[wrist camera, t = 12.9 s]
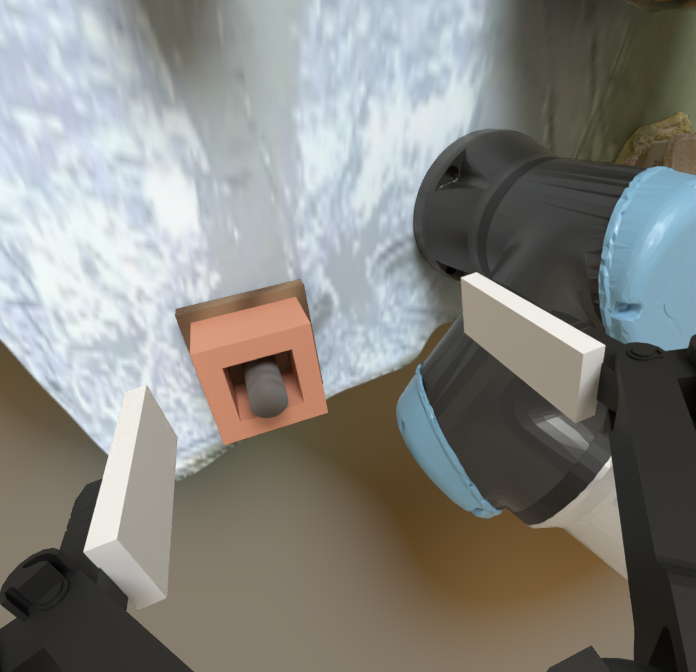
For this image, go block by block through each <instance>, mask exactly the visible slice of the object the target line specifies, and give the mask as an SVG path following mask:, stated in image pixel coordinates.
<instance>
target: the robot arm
mask: <svg viewBox="0 0 696 672" xmlns="http://www.w3.org/2000/svg"><path fill="white" fill-rule="evenodd" d="M414 230H415V236H416V240H417V243H418V246H419V249H420V251H421V253H422V254H423V256H424V258H425V259H426V260H427V261H428V263H429V264H430V265H431V266H432V267H434V268H435V269H436V270H438V271H439V272H441V273H442V274H444V275H446V276H447V277H449V278H451V279H453V280H456V281H459V282H461V291H462V306H463V311H462V312H461V314H460V315H459V316H458V318H457V319H456V320H455V322H454V323H453V324H452V326H451V327H450V329H449V330H448V331H447V332H446V334H445V335H444V336H443V338H442V339H441V340H440V342H439V343H438V344H437V346H436V347H435V348H434V350H433V351H432V353H431V354H430V355H429V356H428V358H427V359H426V360H425V362H423V363H421V364H419V365H418V367H417V369H416V374H415V375H414V377H413V378H412V380H411V381H410V383H409V384H408V386H407V387H406V389H405V390H404V392H403V393H402V395H401V396H400V398H399V400H398V403H397V407H396V419H397V424H398V427H399V430H400V432H401V434H402V437H403V439H404V442H405V444H406V446H407V447H408V449H409V451H410V452H411V454H412V456H413V457H414V459H415V460H416V461H417V463H418V464H419V466H420V467H421V468H422V469H423V471H424V472H425V473H426V474H427V476H428V477H429V478H430V479H431V480H432V481H433V482H434V483H435V485H437V487H438V488H439V489H440V490H441V491H442V492H443V493H444V494H445V495H446V496H448V497H449V498H450V499H451V500H452V501H453V502H455V503H456V504H457V505H459V506H460V507H461V508H463V509H464V510H466V511H472V513H473V514H474V515H475V516H478V517H481V518H491V517H493V516H494V515H499V514H500V513H501V512H502V511H503V509H504V507H505V508H507V509H508V510H509V511H511V512H512V513H513V514H514V515H516V516H517V517H518V518H519V519H520V520H522V521H523V522H524V523H525V524H527V525H528V526H530V527H531V528H546V527H561V528H564V529H565V530H566V531H568V532H569V533H570V534H571V535H573V536H574V537H575V538H576V539H577V540H579V541H580V542H581V543H582V544H584V545H585V546H586V547H587V548H589V549H590V550H591V551H592V552H594V553H595V554H596V555H597V556H599V557H600V558H601V559H602V560H604V561H605V562H606V563H607V564H609V565H610V566H611V567H612V568H613V569H615V570H616V571H617V572H618V573H620V574H621V575H622V576H623V577H625V578H626V579H627V580H628V583H629V591H630V598H631V605H632V613H633V620H634V661H633V660H627V659H621V658H600V657H599V655H598V654H597V652H596V651H595V650H594V648H593V647H592V646H590V647H588V648H586V649H584V650H582V651H580V652H578V653H576V654H574V655H573V656H571V657H569V658H567V659H565V660H564V661H561V662H560V663H558V664H556V665H554V666H552V667H550V668H549V669H548V671H547V672H696V175H692V174H687V173H683V172H678V171H676V170H674V169H672V168H668V167H663V166H656V167H652V168H650V167H641V166H632V165H623V164H614V163H605V162H596V161H587V160H578V159H569V158H560V157H557V156H555V155H554V154H553V153H551V152H550V151H549V150H547V149H546V148H544V147H543V146H542V145H540V144H539V143H537V142H536V141H535V140H533V139H532V138H530V137H529V136H527V135H525V134H522V133H519V132H516V131H512V130H500V129H485V130H479V131H476V132H472V133H470V134H467V135H465V136H463V137H461V138H460V139H458V140H457V141H455V142H454V143H452V144H451V145H450V146H449V147H447V148H446V149H445V150H444V151H443V152H442V153H441V154H440V155H439V156H438V158H437V159H436V160H435V161H434V163H433V164H432V166H431V167H430V169H429V170H428V172H427V174H426V176H425V177H424V180H423V182H422V184H421V186H420V189H419V192H418V195H417V199H416V204H415V210H414ZM176 451H177V436H176V434H175V432H174V431H173V429H172V427H171V426H170V424H169V422H168V420H167V419H166V417H165V415H164V414H163V412H162V410H161V408H160V407H159V405H158V403H157V402H156V400H155V398H154V397H153V395H152V393H151V391H150V390H149V388H148V386H147V385H145V386H142V387H139V388H136V389H133V390H130V391H127V392H125V396H124V400H123V404H122V407H121V411H120V415H119V419H118V423H117V426H116V430H115V434H114V438H113V442H112V445H111V449H110V453H109V457H108V461H107V464H106V468H105V472H104V476H103V479H100V480H97V481H95V482H92V483H89V484H87V485H86V486H85V487H84V489H83V490H82V492H81V493H80V495H79V496H78V497H77V499H76V500H75V503H74V506H73V509H72V513H71V518H70V519H69V522H68V525H67V531H66V532H65V534H64V538H63V541H62V544H61V547H60V550H58V549H55V548H50V549H44V550H42V551H40V552H37V553H35V554H33V555H31V556H30V557H29V558H27V559H26V560H25V561H23V562H22V563H20V564H19V565H18V567H16V569H15V570H14V571H13V572H12V573H11V574H10V575H9V576H8V578H7V580H6V581H5V582H4V584H3V586H2V588H1V591H0V604H1V605H2V606H3V607H5V608H6V609H7V610H8V611H10V612H11V613H12V614H13V615H15V616H16V617H17V618H16V619H14V620H13V621H11V622H10V623H8V624H7V625H5V626H4V627H3V628H1V629H0V672H193V671H192V670H191V669H190V668H189V667H188V666H187V665H186V664H184V663H183V662H182V661H181V660H180V659H179V658H178V657H177V656H176V655H174V654H173V653H172V652H171V651H170V650H169V649H168V648H167V647H165V646H164V645H163V644H162V643H161V642H160V641H159V640H158V639H157V638H155V637H154V636H153V635H152V634H151V633H150V632H149V631H148V630H147V629H145V628H144V627H143V626H142V625H141V624H140V623H139V622H138V621H137V620H135V619H134V618H133V617H132V616H131V615H130V614H129V613H128V612H127V611H126V610H127V602H128V600H129V601H130V602H131V603H132V604H133V605H134V606H135V607H136V608H137V609H138V610H139V609H141V608H144V607H146V606H149V605H151V604H154V603H156V602H158V601H160V600H163V599H165V598H167V586H168V571H169V556H170V541H171V526H172V511H173V496H174V481H175V466H176Z"/></svg>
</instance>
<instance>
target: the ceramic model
mask: <svg viewBox="0 0 696 672" xmlns="http://www.w3.org/2000/svg"><path fill="white" fill-rule="evenodd" d="M691 127H692V125H691V123H690V121H689V118H688V115H687V114H685V113H683V112H677V113H676V114H674V115H673V116H671V117H669V118H667V119H664V120H662V121H660V122H656V123H651V124H648V125H644V126H641V127H640V128H639V129H637V130H636V131H635V132H634V133H633V135H632V136H631V137H630V138H629V139H628V141H627V142H626V144H625V145H624V147H623V149H622V150H621V152H620V154H619V155H618V157H617V159H616V161H615V163H614V164H623V165H632V166H641V167H650V168H652V167H656V166H663V167H668V168H672V169H674V170H676V171H678V172H683V173H687V174H692V175H696V133H692V129H691Z"/></svg>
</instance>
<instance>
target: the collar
mask: <svg viewBox="0 0 696 672" xmlns="http://www.w3.org/2000/svg"><path fill="white" fill-rule="evenodd" d="M284 351H288V355H289V360H290V364H291V368H292V370H288V371H285V372H281V373H280V374H281V377H282V380H283V383H284V386H285V389H286V392H287V395H288V405H287V407H286V409H285V410H284V411H283V412H282V413H281V414H280V415H278V416H276V417H273V418H261V417H258V416H256V415H255V414H254V413H253V412H252V411H251V409H250V404H249V399H248V393H247V388H246V383H243V384H239V385H236V386H235V384H234V381H233V378H232V375H231V372H230V368H229V366H233V365H237V364H240V363H244V362H247V361H251V360H255V359H258V358H262V357H266V356H269V355H273V354H276V353H280V352H284ZM190 356H191V359H192V362H193V364H194V367H195V369H196V372H197V375H198V377H199V380H200V382H201V385H202V388H203V390H204V393H205V395H206V398H207V401H208V403H209V406H210V408H211V411H212V414H213V416H214V419H215V422H216V424H217V427H218V429H219V432H220V435H221V437H222V440H223V442H224V445H226V444H230V443H233V442H236V441H239V440H242V439H245V438H249V437H252V436H255V435H258V434H261V433H264V432H268V431H271V430H274V429H277V428H280V427H284V426H286V425H290V424H293V423H296V422H299V421H303V420H306V419H309V418H312V417H315V416H318V415H322V414H325V413H328V410H327V405H326V400H325V395H324V390H323V385H322V380H321V375H320V370H319V364H318V359H317V354H316V349H315V344H314V339H313V334H312V329H311V324H310V322H309V320H308V318H307V316H306V314H305V312H304V311H303V309H302V307H301V305H300V303H299V301H298V300H297V298H296V297H293V298H289V299H285V300H281V301H277V302H273V303H269V304H265V305H261V306H257V307H253V308H249V309H245V310H241V311H237V312H233V313H229V314H225V315H221V316H217V317H213V318H209V319H205V320H201V321H197V322H193V323H191V330H190Z"/></svg>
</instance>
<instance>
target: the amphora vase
mask: <svg viewBox="0 0 696 672" xmlns="http://www.w3.org/2000/svg"><path fill="white" fill-rule="evenodd" d="M622 1H624V2H626V3H628V4H630V5H632V6H634V7H636V8H640V9H643V10H647V11H650V12H682V11H688V10H695V9H696V0H622Z"/></svg>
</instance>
